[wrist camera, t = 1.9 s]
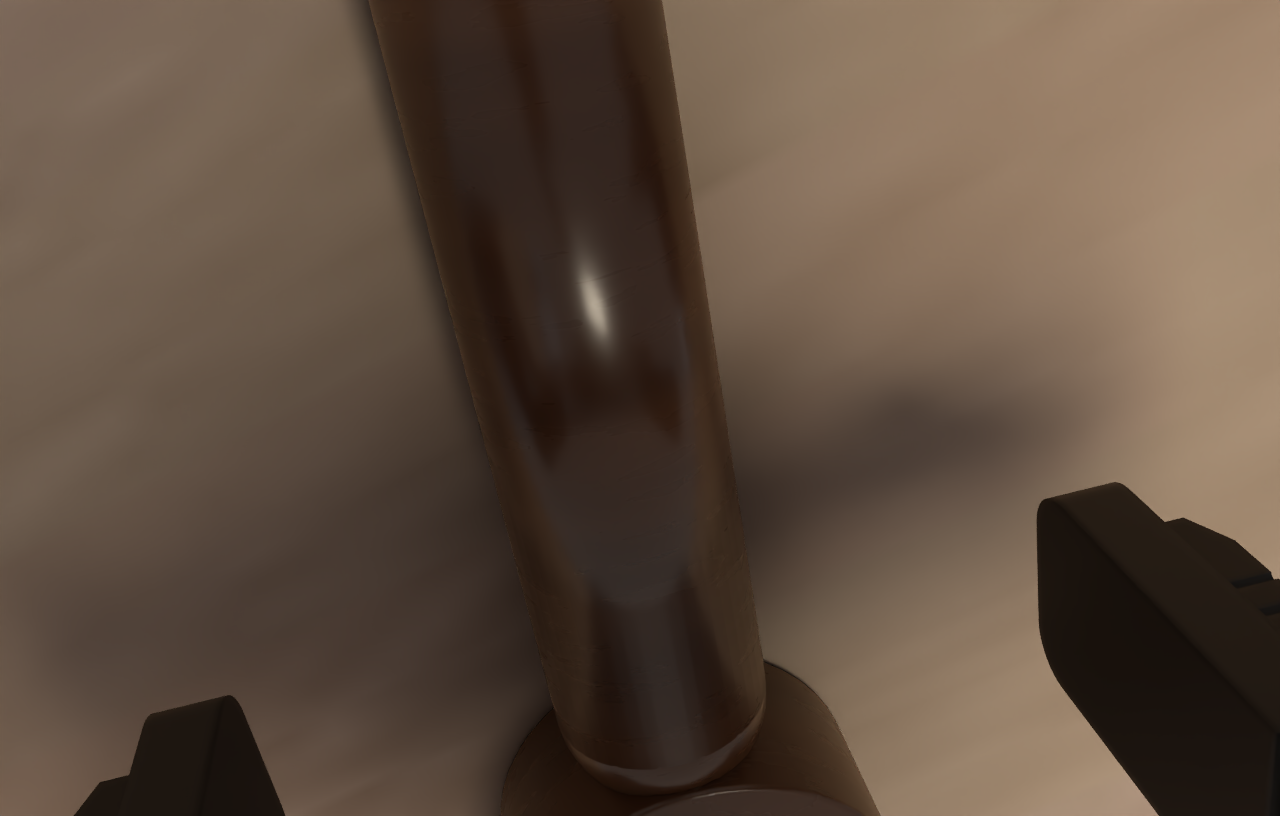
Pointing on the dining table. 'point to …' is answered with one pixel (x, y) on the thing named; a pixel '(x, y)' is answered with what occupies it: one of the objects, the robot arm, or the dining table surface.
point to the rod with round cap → (603, 410)
